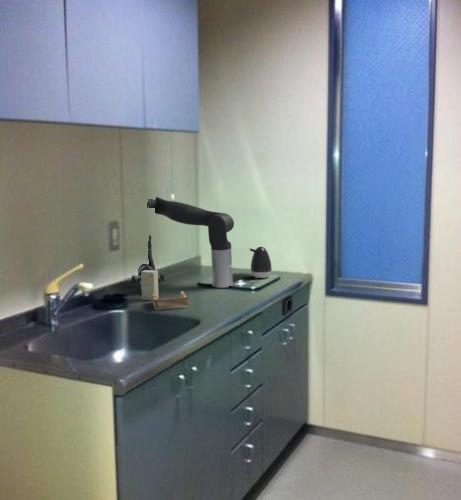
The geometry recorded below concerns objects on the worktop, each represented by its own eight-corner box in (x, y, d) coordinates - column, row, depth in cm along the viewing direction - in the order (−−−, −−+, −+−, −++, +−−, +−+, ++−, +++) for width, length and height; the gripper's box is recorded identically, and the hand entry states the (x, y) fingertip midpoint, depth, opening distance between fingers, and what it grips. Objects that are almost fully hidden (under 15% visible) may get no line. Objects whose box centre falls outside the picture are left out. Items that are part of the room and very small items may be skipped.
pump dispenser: (251, 275, 313) (250, 245, 311) (272, 275, 312) (271, 244, 310) (249, 279, 303) (248, 248, 301) (271, 279, 302) (270, 248, 300)
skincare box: (141, 299, 269) (140, 271, 267) (146, 297, 273) (144, 269, 271) (154, 300, 267) (153, 272, 265) (159, 298, 271) (158, 270, 269)
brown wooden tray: (152, 302, 264) (152, 293, 263) (183, 300, 266) (183, 290, 265) (155, 310, 251) (154, 300, 250) (187, 307, 253) (187, 297, 253)
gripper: (130, 267, 287) (131, 274, 272) (161, 265, 290) (164, 272, 274) (131, 283, 289) (132, 291, 273) (162, 281, 291) (165, 289, 276)
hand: (148, 281), depth 274 cm, fingers open, 8 cm apart
